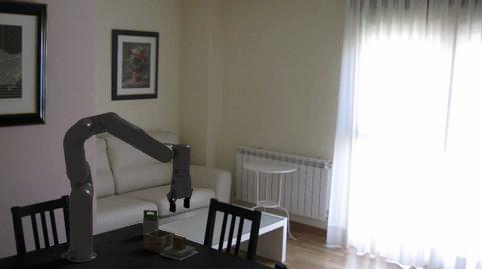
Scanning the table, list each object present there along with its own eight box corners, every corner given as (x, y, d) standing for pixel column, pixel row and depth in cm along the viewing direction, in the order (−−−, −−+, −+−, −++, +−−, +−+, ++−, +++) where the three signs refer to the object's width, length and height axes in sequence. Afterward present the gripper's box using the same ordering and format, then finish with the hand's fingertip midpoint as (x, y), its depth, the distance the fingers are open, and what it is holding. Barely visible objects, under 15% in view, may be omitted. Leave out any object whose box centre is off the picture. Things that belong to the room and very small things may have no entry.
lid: (180, 258, 241) (181, 242, 241) (163, 253, 247) (163, 237, 246) (195, 252, 250) (195, 236, 249) (177, 247, 255) (178, 232, 255)
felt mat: (180, 260, 240) (180, 259, 240) (159, 254, 246) (159, 253, 246) (198, 252, 251) (198, 251, 251) (178, 247, 257) (178, 246, 257)
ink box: (158, 234, 275) (159, 208, 274) (156, 237, 271) (157, 210, 270) (145, 234, 276) (145, 207, 274) (142, 236, 272) (143, 209, 270)
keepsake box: (160, 253, 248) (160, 238, 247) (143, 249, 254) (143, 234, 253) (174, 247, 256) (174, 233, 256) (158, 243, 262) (158, 229, 261)
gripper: (175, 176, 235) (173, 215, 237) (199, 170, 249) (198, 207, 251) (161, 173, 239) (160, 212, 241) (186, 168, 253) (185, 205, 255)
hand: (179, 209), depth 246 cm, fingers open, 9 cm apart
